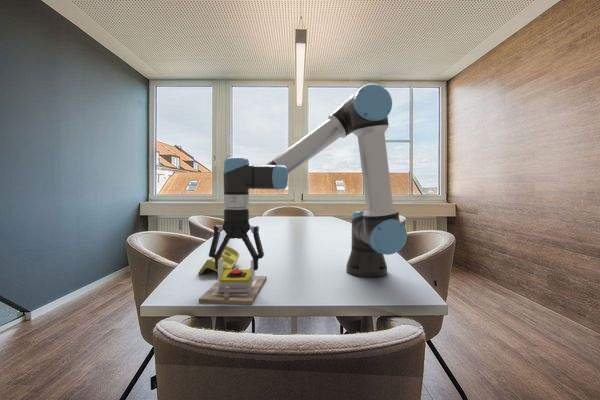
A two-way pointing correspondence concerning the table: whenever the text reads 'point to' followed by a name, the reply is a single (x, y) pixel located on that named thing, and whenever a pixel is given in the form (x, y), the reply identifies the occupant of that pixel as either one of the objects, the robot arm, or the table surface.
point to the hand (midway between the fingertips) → (236, 279)
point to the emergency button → (236, 280)
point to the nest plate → (233, 293)
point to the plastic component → (228, 257)
